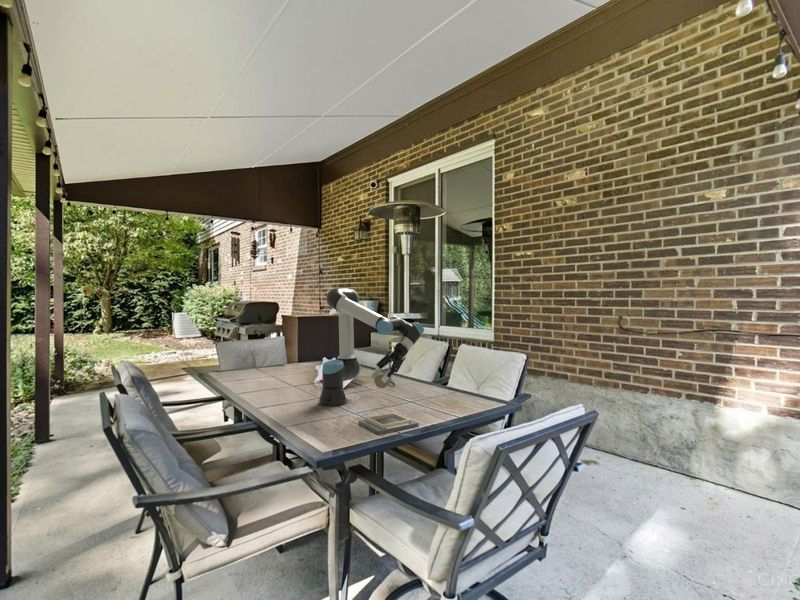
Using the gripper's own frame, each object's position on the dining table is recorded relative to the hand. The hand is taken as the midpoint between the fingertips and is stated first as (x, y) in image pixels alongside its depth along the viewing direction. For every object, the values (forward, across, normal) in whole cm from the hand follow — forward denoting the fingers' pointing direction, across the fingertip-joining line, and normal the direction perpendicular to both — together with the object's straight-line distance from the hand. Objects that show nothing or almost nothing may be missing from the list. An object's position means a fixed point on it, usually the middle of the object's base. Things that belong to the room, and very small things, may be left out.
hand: (377, 379), depth 217 cm
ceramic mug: (0, -1, -6) cm, 6 cm away
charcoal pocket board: (+16, -18, -9) cm, 26 cm away
